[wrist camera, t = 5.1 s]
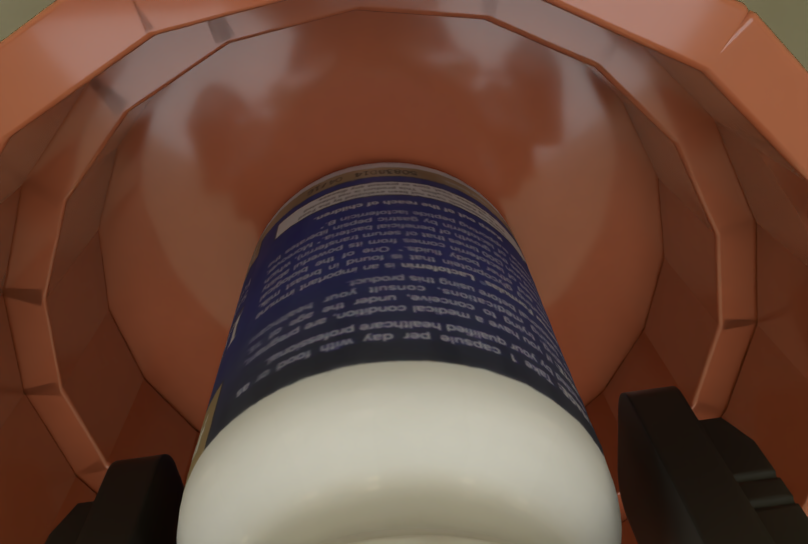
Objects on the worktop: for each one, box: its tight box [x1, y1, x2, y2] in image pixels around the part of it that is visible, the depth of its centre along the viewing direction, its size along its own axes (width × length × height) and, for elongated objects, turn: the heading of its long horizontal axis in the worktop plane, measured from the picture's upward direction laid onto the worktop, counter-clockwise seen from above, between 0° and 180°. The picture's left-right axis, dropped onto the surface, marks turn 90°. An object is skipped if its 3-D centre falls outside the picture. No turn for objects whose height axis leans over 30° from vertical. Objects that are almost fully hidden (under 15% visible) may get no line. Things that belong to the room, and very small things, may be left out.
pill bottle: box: [176, 162, 622, 544], centre depth 11 cm, size 6×6×10 cm
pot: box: [0, 0, 808, 544], centre depth 13 cm, size 15×15×6 cm
